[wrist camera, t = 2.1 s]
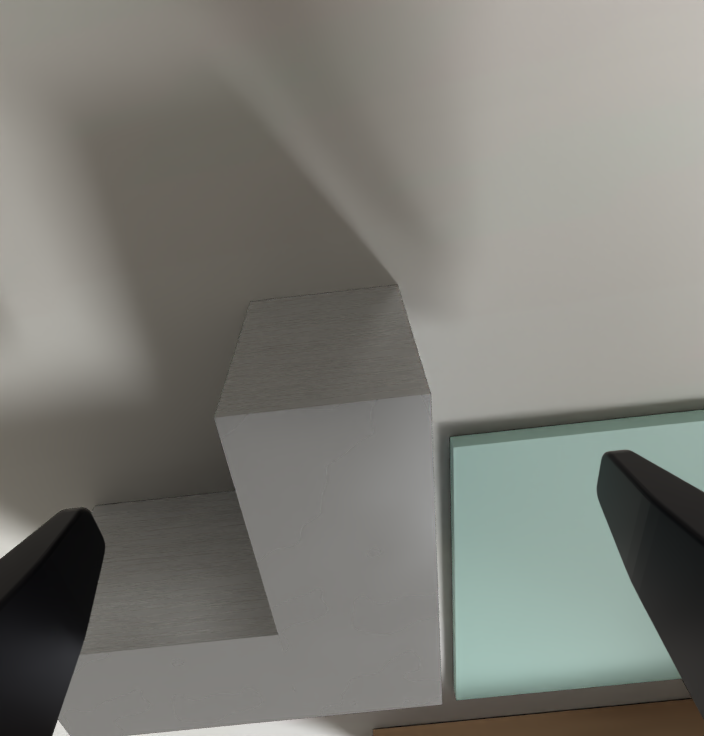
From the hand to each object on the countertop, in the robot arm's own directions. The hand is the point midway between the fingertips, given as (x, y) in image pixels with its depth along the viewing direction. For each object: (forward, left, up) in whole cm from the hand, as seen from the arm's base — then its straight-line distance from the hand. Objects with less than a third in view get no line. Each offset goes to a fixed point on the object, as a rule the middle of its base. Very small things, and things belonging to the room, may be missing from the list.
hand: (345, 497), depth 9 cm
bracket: (-1, +3, -3) cm, 4 cm away
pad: (-7, -7, -3) cm, 11 cm away
